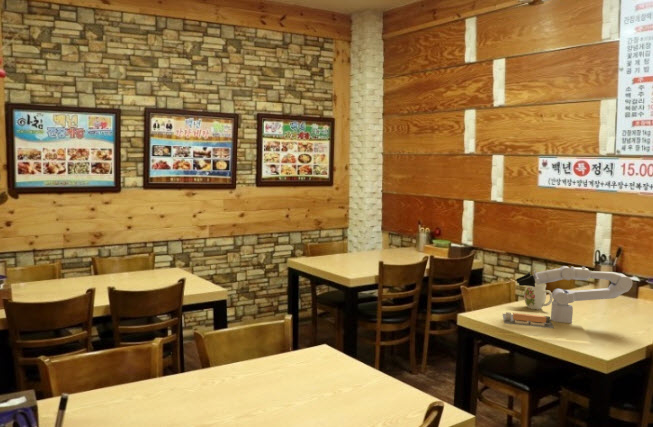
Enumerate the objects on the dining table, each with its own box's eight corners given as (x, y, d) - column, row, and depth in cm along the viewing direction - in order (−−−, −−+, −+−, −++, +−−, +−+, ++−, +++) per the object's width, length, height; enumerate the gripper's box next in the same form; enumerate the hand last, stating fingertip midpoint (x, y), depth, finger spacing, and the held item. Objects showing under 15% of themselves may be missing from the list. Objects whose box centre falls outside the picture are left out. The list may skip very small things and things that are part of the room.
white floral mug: (544, 313, 289) (546, 287, 288) (514, 305, 304) (516, 280, 303) (557, 311, 296) (559, 285, 294) (527, 303, 310) (529, 278, 309)
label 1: (527, 320, 272) (527, 319, 272) (528, 324, 266) (528, 322, 266) (514, 319, 273) (514, 317, 273) (514, 322, 267) (515, 321, 267)
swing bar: (513, 319, 269) (513, 314, 269) (512, 318, 272) (513, 312, 271) (550, 323, 265) (550, 317, 265) (549, 321, 268) (549, 316, 267)
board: (549, 320, 278) (549, 310, 277) (554, 330, 260) (554, 320, 260) (502, 315, 283) (502, 306, 283) (504, 325, 266) (504, 315, 265)
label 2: (542, 322, 270) (542, 320, 270) (544, 325, 264) (544, 324, 264) (529, 320, 271) (529, 319, 271) (530, 324, 266) (530, 322, 266)
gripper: (542, 266, 281) (514, 272, 284) (547, 270, 267) (517, 276, 270) (545, 280, 281) (517, 286, 284) (550, 285, 267) (521, 290, 270)
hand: (517, 282), depth 277 cm, fingers open, 7 cm apart
